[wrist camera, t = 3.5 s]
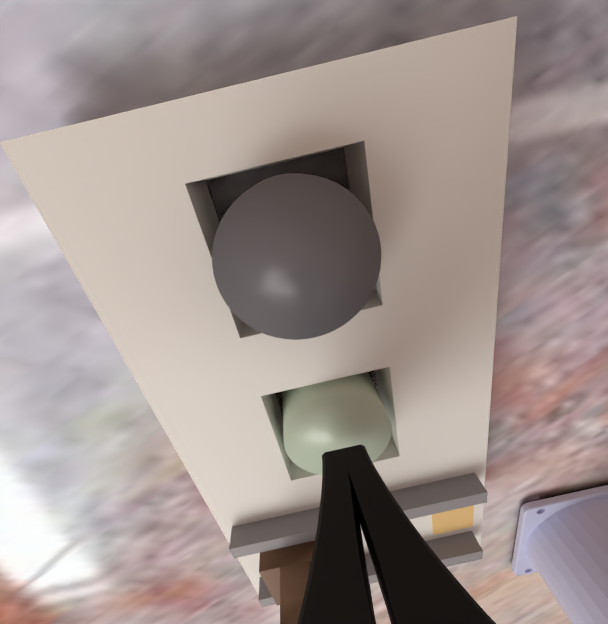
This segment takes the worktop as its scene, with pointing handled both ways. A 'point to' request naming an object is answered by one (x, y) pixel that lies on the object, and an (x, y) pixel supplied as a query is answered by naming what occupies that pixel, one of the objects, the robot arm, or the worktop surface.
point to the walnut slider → (287, 577)
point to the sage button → (334, 420)
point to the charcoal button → (296, 256)
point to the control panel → (332, 346)
